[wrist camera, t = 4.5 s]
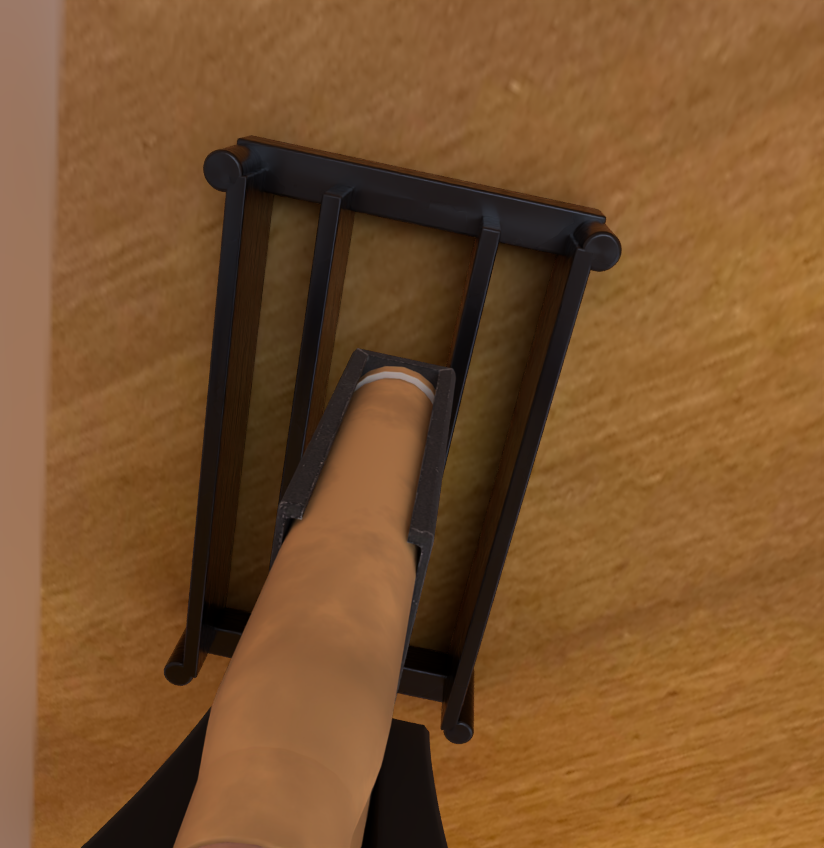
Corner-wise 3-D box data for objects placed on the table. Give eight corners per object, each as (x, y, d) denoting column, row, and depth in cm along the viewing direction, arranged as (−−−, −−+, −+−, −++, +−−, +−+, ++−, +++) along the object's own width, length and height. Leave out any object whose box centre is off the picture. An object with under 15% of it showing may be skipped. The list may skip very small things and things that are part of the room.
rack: (193, 626, 23) (161, 686, 21) (240, 132, 17) (203, 140, 15) (470, 684, 23) (469, 751, 21) (609, 211, 17) (628, 231, 15)
